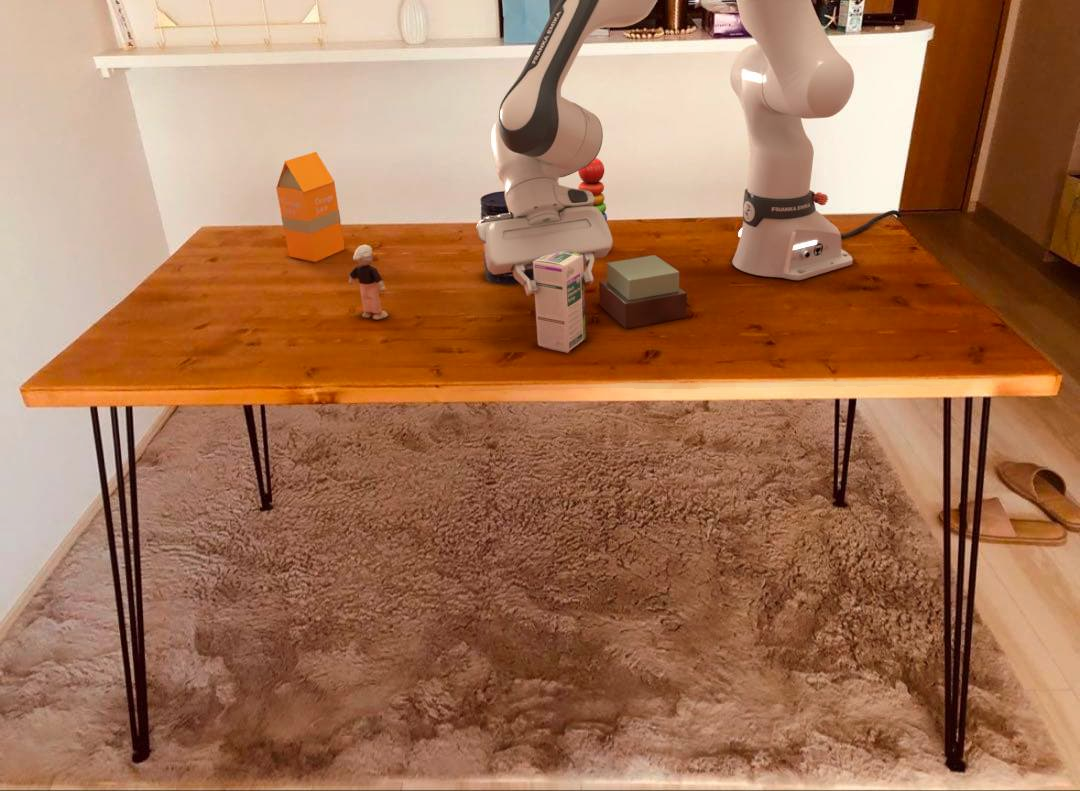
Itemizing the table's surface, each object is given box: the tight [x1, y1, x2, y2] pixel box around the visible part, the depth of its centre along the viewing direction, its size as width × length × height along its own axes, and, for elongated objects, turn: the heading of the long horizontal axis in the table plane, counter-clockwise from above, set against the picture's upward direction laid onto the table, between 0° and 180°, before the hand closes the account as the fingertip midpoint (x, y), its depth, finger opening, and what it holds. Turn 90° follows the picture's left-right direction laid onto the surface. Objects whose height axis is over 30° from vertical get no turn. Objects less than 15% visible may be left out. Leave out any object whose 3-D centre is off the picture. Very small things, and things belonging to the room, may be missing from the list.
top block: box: [606, 254, 680, 300], centre depth 142 cm, size 9×9×4 cm
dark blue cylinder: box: [480, 190, 534, 285], centre depth 158 cm, size 10×10×15 cm
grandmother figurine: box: [348, 244, 389, 320], centre depth 144 cm, size 8×4×13 cm, turn 71°
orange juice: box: [275, 151, 345, 263], centre depth 173 cm, size 8×9×20 cm
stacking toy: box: [577, 157, 609, 226], centre depth 168 cm, size 8×8×19 cm
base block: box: [598, 279, 688, 330], centre depth 143 cm, size 11×11×4 cm
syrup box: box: [533, 251, 587, 354], centre depth 131 cm, size 6×6×14 cm
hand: (561, 288), depth 130 cm, fingers closed on syrup box, 8 cm apart
